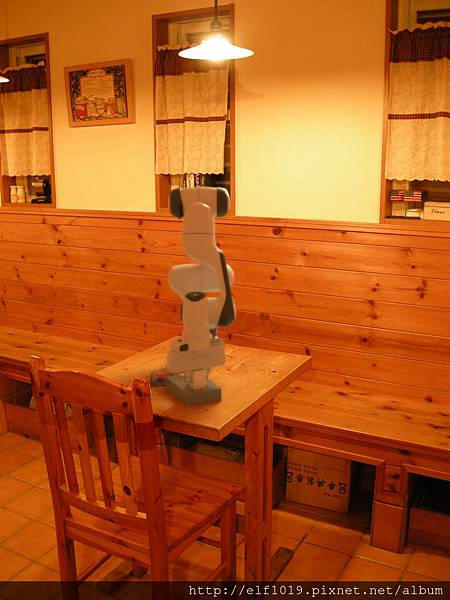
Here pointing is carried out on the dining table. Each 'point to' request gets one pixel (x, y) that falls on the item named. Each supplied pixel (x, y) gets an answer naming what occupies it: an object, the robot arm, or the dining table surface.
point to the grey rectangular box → (190, 396)
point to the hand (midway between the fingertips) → (197, 381)
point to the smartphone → (159, 377)
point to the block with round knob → (197, 379)
